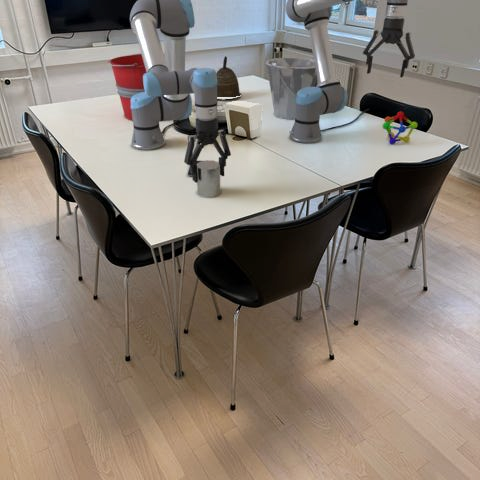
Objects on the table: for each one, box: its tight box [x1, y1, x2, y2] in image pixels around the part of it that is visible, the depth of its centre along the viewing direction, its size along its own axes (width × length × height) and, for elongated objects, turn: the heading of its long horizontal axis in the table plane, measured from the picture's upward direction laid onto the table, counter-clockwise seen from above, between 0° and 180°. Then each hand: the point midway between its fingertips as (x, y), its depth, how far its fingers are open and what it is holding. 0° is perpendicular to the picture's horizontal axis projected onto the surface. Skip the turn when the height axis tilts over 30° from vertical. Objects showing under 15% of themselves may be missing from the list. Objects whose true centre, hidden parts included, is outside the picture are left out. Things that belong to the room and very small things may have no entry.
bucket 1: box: [106, 53, 147, 121], centre depth 240 cm, size 35×35×30 cm
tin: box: [196, 160, 222, 198], centre depth 161 cm, size 8×8×11 cm
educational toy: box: [382, 110, 418, 145], centre depth 207 cm, size 16×13×15 cm
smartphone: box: [187, 160, 202, 177], centre depth 182 cm, size 7×1×15 cm
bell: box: [216, 56, 242, 97], centre depth 278 cm, size 19×26×20 cm
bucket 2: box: [265, 56, 318, 120], centre depth 242 cm, size 30×30×28 cm
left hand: (208, 178), depth 161 cm, fingers open, 10 cm apart
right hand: (384, 75), depth 182 cm, fingers open, 13 cm apart
